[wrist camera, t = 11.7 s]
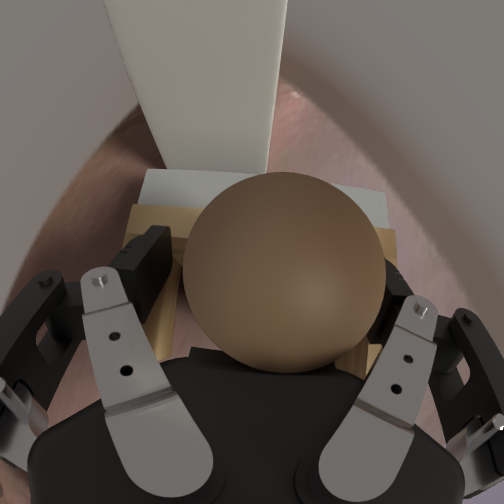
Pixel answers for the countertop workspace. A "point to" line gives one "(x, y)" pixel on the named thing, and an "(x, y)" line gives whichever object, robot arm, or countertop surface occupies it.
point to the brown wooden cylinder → (284, 272)
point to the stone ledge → (213, 183)
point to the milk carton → (204, 77)
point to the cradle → (164, 308)
